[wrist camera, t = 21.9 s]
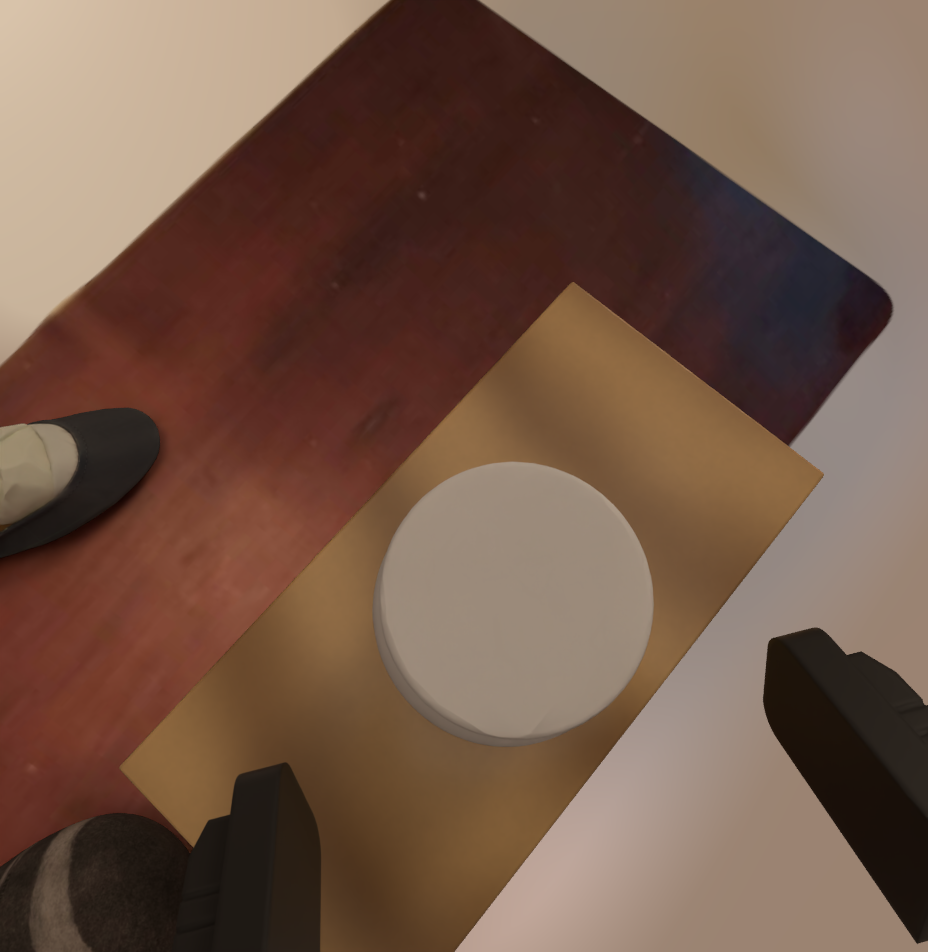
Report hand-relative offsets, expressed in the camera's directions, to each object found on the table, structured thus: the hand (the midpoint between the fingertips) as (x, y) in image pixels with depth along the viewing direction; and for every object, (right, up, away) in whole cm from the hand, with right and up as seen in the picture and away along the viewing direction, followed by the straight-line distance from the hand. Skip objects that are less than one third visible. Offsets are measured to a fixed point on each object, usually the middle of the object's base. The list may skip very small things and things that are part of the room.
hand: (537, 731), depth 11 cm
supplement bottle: (0, 0, +7) cm, 7 cm away
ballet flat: (-35, +1, +40) cm, 53 cm away
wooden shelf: (0, -7, +38) cm, 38 cm away
